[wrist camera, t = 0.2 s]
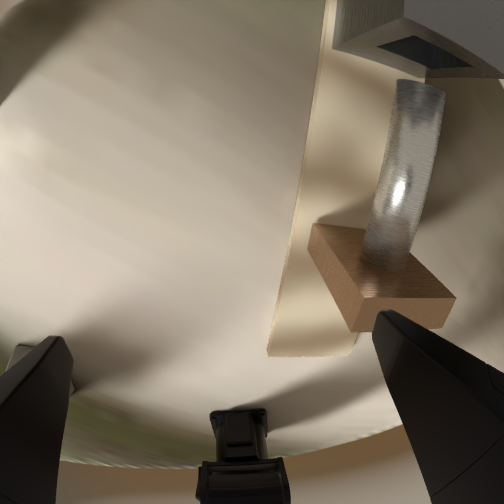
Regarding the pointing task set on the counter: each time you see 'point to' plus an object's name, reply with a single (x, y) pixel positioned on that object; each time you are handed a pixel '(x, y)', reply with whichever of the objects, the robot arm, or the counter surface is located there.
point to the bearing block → (425, 35)
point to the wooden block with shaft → (390, 225)
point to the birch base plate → (332, 191)
